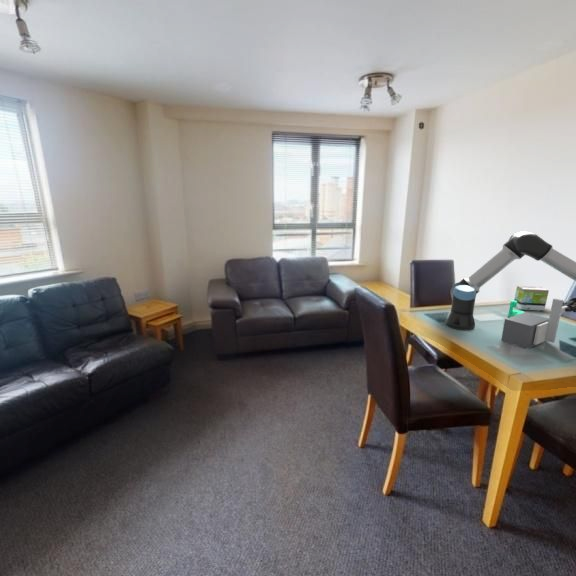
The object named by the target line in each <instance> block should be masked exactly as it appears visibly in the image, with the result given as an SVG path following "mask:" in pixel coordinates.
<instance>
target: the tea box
mask: <svg viewBox="0 0 576 576" xmlns="http://www.w3.org/2000/svg"><path fill="white" fill-rule="evenodd" d="M549 291H550V290H548V289H547V288H545V287H542V286H526V285H525V286H524V285H517V286H516V290H515V295H514V299H513V300H514V301H517V306H516V308H517V309H518V310H519V311H523V310H527V311H540V310H544V311H545V309H546V305H547V300H548V296H549Z"/></svg>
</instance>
